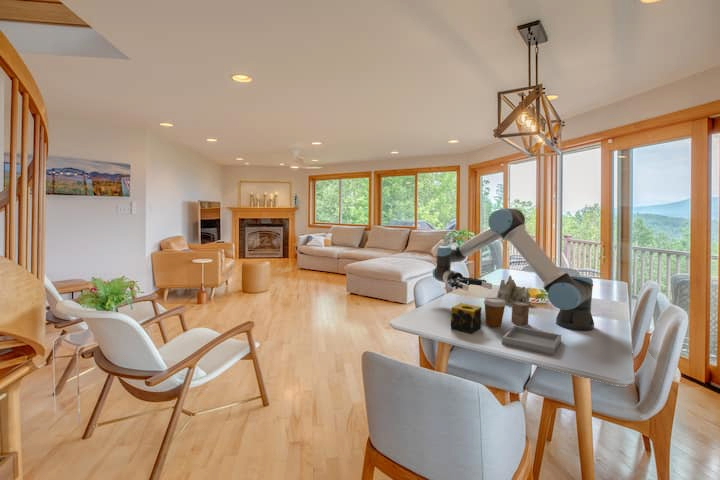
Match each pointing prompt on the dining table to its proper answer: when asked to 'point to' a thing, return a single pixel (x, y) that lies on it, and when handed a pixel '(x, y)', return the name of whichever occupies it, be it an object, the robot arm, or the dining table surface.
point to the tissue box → (466, 318)
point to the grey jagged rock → (512, 292)
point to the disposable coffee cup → (494, 311)
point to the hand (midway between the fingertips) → (479, 287)
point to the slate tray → (532, 340)
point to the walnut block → (520, 313)
